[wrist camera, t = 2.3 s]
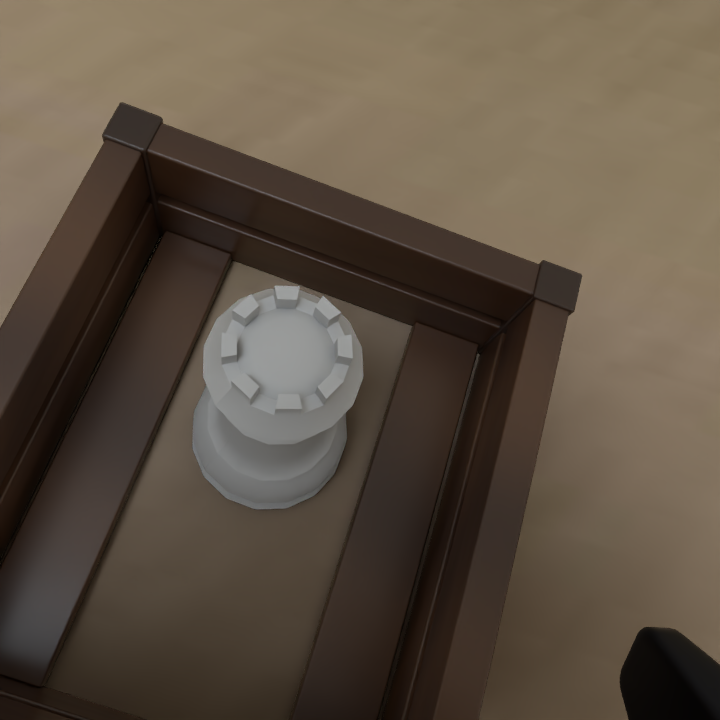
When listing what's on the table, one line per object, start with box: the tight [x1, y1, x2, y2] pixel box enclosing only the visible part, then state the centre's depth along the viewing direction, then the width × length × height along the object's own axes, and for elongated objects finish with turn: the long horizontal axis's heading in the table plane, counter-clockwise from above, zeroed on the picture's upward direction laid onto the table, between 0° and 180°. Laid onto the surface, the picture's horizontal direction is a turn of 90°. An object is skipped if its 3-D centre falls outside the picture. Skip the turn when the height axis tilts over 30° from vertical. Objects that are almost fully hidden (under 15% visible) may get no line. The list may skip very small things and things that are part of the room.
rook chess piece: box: [192, 286, 364, 509], centre depth 17 cm, size 4×4×8 cm
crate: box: [0, 103, 582, 720], centre depth 18 cm, size 15×13×5 cm
